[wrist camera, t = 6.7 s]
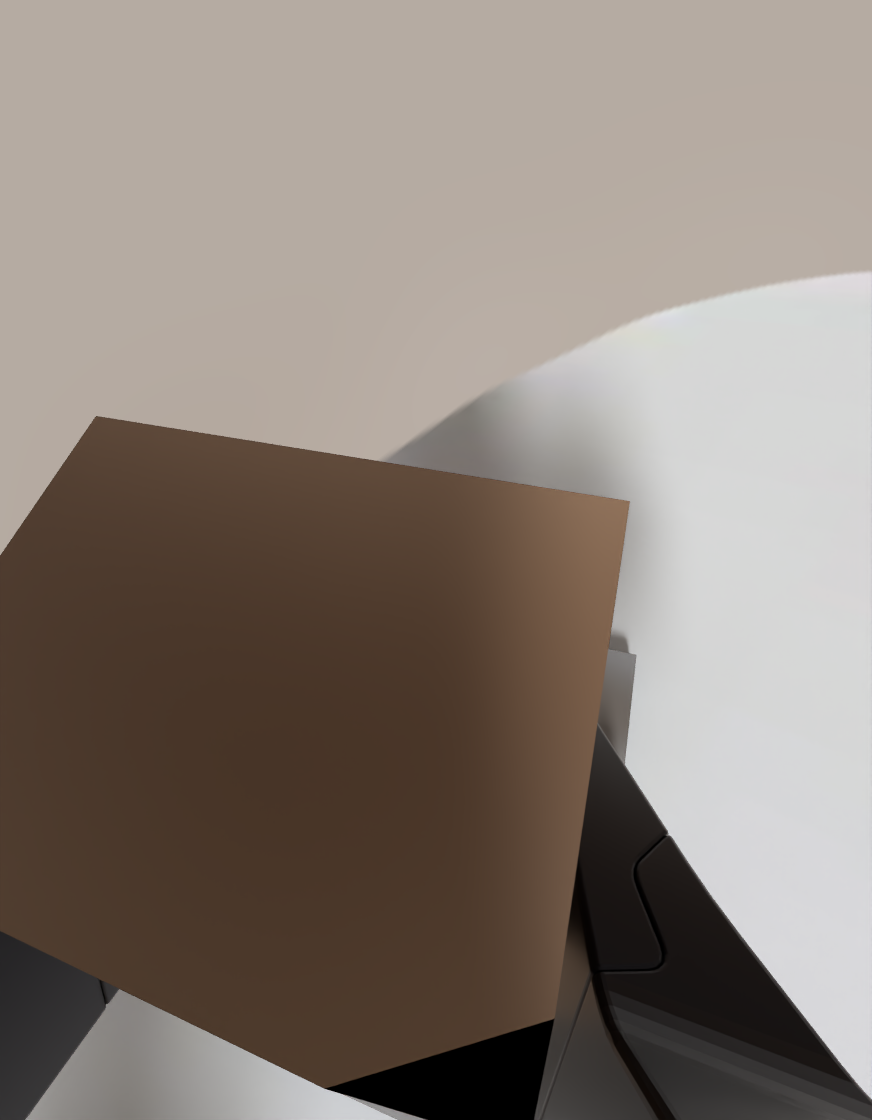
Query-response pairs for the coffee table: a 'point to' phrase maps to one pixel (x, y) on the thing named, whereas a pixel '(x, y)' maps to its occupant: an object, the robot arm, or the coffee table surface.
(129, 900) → the wooden block
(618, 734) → the cross plate base
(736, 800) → the coffee table surface
